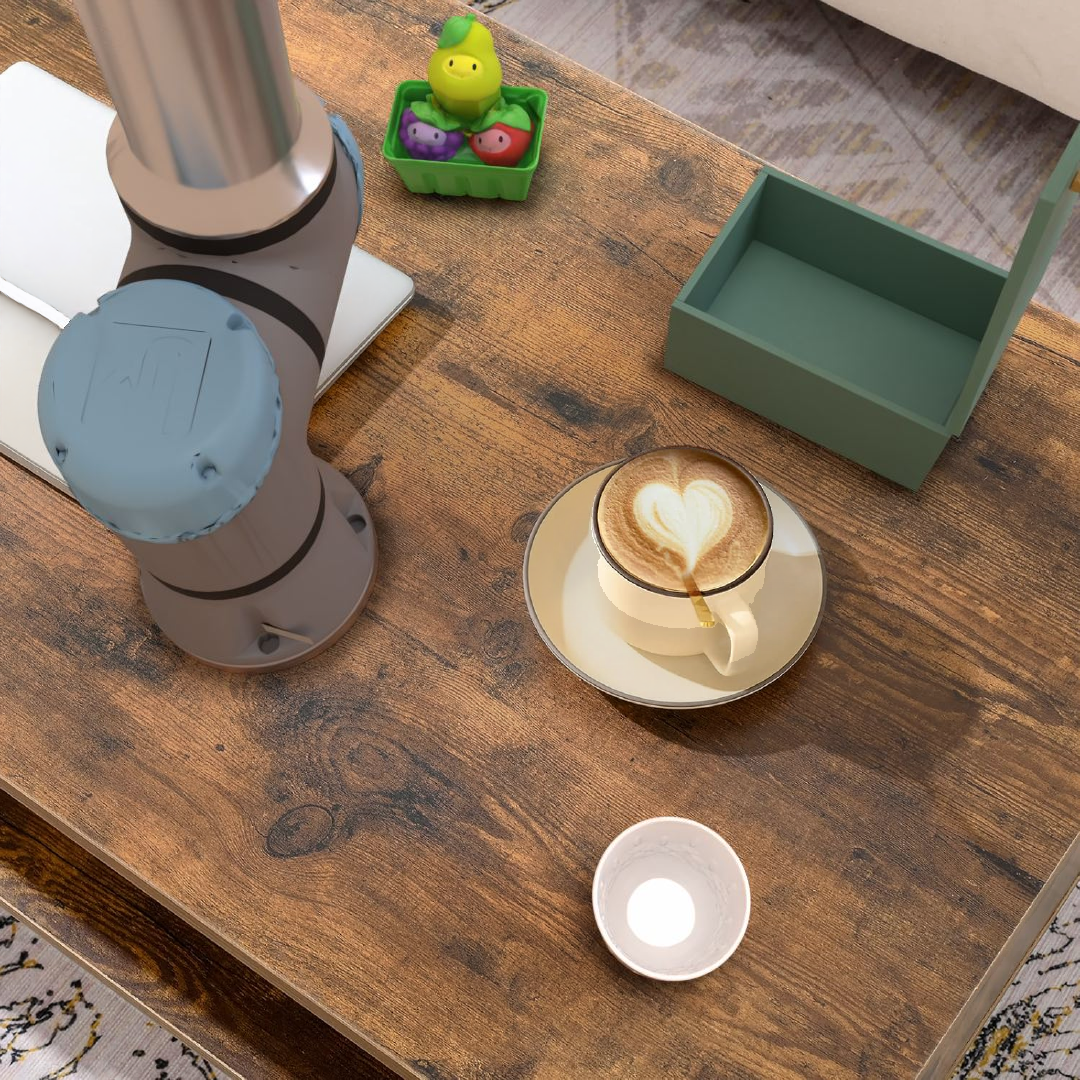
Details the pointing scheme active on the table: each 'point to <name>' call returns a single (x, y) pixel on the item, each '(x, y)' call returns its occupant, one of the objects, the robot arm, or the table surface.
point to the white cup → (671, 899)
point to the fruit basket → (465, 122)
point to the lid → (1023, 275)
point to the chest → (835, 324)
